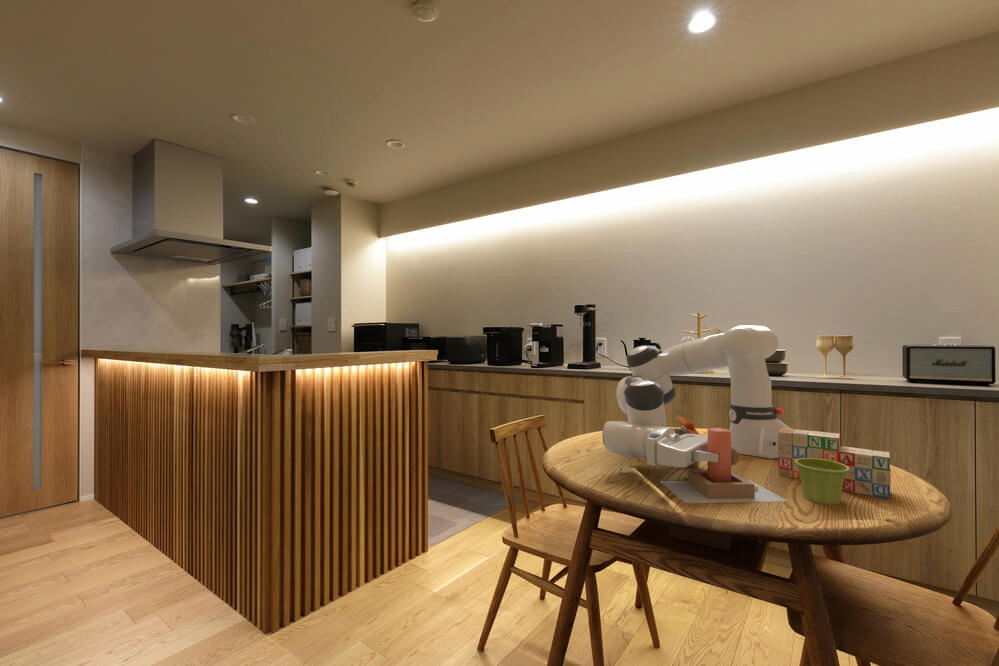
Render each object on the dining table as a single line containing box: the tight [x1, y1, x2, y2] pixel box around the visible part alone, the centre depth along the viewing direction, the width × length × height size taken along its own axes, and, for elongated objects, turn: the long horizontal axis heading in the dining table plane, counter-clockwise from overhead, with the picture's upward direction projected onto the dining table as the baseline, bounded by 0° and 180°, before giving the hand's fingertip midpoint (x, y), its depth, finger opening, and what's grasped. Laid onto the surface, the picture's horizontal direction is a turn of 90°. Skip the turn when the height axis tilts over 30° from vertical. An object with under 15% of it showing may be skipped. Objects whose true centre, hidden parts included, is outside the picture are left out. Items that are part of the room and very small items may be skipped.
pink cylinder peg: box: [706, 427, 732, 483], centre depth 102 cm, size 5×5×12 cm
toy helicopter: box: [672, 415, 739, 469], centre depth 120 cm, size 8×21×14 cm, turn 37°
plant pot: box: [795, 458, 849, 505], centre depth 97 cm, size 9×9×9 cm
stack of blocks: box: [777, 428, 892, 500], centre depth 109 cm, size 21×6×12 cm, turn 49°
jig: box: [659, 470, 788, 504], centre depth 102 cm, size 22×14×4 cm, turn 92°
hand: (723, 455), depth 102 cm, fingers closed on pink cylinder peg, 5 cm apart
